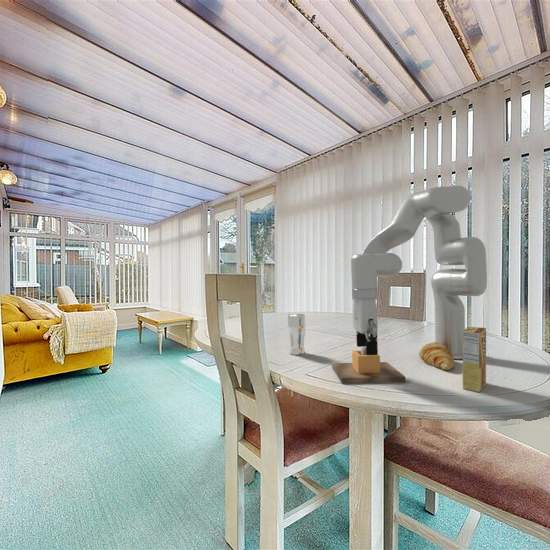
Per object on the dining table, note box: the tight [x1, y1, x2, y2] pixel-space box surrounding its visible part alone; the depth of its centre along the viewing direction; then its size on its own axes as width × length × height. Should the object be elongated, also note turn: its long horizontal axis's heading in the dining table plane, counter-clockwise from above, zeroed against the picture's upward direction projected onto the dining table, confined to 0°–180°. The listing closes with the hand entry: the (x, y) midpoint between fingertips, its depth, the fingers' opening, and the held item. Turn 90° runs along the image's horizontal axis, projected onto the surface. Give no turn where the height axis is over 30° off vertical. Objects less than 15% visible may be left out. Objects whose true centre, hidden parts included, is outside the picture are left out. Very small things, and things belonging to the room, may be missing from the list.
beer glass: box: [287, 313, 306, 356], centre depth 117 cm, size 7×7×15 cm
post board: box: [331, 347, 406, 384], centre depth 91 cm, size 18×14×8 cm
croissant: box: [418, 342, 455, 371], centre depth 102 cm, size 21×10×8 cm, turn 171°
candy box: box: [462, 326, 487, 393], centre depth 81 cm, size 9×4×15 cm, turn 137°
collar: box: [351, 349, 381, 373], centre depth 91 cm, size 6×6×5 cm
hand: (366, 350), depth 92 cm, fingers open, 9 cm apart
